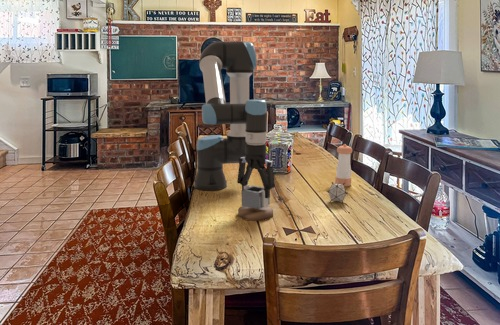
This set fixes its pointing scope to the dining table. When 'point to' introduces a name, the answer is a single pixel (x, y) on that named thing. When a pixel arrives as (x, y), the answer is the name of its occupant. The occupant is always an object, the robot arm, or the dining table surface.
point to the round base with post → (255, 213)
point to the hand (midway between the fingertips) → (255, 204)
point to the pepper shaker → (343, 166)
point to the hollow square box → (253, 197)
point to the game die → (337, 192)
